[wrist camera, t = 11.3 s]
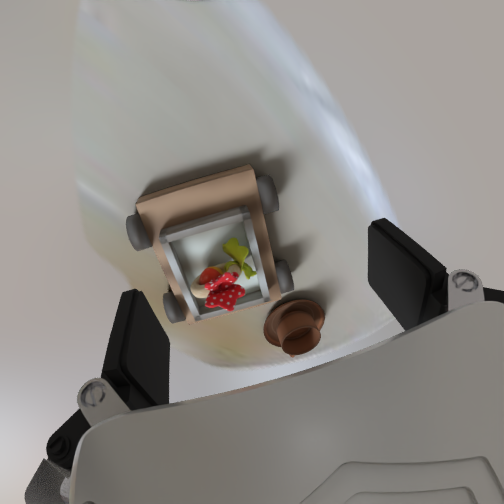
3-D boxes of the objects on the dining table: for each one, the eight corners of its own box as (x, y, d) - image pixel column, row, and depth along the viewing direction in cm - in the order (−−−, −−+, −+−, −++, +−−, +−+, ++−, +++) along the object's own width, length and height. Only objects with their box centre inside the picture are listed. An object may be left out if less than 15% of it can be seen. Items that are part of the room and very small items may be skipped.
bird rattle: (222, 279, 45) (271, 264, 41) (193, 332, 37) (249, 324, 32) (199, 248, 43) (249, 229, 38) (164, 299, 34) (219, 285, 30)
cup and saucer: (322, 330, 58) (333, 351, 53) (267, 347, 58) (273, 369, 52) (319, 286, 52) (332, 307, 47) (256, 305, 51) (263, 328, 46)
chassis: (127, 201, 38) (117, 216, 33) (263, 160, 39) (273, 169, 34) (178, 315, 49) (177, 337, 45) (288, 285, 50) (297, 305, 46)
